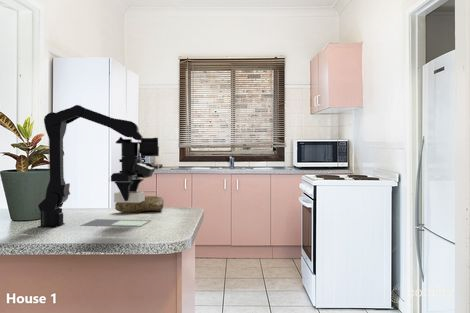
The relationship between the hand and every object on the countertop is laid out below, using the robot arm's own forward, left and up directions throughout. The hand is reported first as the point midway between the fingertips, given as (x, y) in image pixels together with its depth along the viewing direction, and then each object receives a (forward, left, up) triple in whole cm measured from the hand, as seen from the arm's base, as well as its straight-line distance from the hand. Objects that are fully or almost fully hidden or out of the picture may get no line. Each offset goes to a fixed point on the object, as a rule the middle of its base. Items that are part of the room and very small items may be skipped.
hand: (129, 199), depth 138 cm
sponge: (-6, +27, -9) cm, 29 cm away
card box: (0, 0, -1) cm, 1 cm away
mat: (-5, 0, -9) cm, 10 cm away
